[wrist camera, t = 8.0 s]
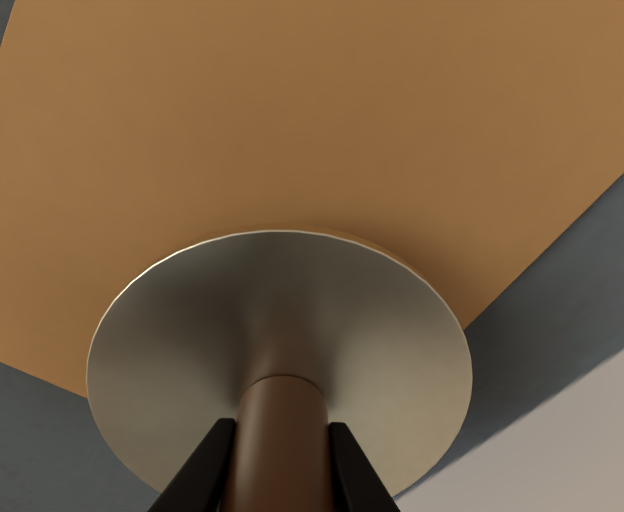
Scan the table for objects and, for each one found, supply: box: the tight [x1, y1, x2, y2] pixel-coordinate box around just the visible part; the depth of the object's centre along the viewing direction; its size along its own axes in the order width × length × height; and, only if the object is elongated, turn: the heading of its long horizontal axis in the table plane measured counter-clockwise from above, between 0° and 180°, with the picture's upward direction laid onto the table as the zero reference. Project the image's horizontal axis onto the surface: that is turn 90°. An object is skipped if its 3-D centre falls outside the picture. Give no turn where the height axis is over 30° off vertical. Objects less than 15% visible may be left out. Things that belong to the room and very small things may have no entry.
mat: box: [0, 0, 624, 399], centre depth 9 cm, size 14×22×1 cm, turn 145°
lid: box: [86, 223, 473, 512], centre depth 8 cm, size 10×10×6 cm
